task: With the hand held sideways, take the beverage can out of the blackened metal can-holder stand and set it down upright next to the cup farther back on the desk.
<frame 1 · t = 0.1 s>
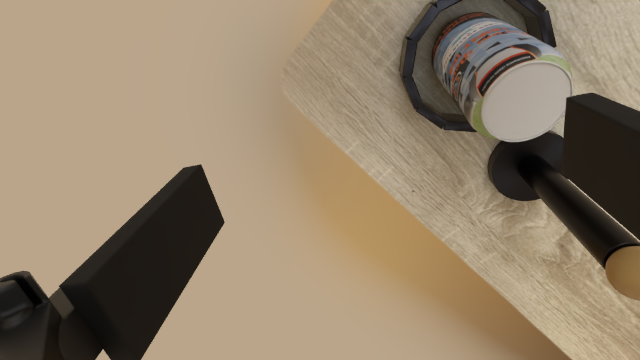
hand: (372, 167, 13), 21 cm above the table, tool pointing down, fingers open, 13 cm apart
beverage can: (467, 58, 30), resting in can holder
can holder: (468, 58, 30), on the table
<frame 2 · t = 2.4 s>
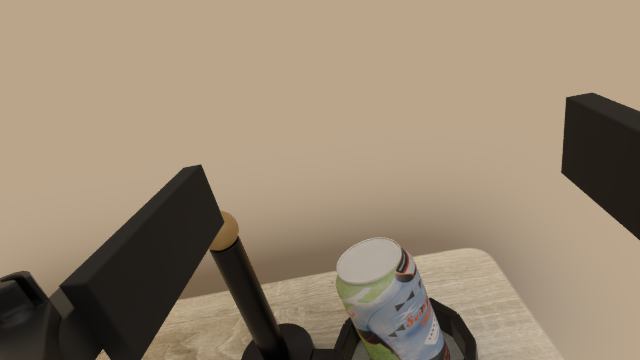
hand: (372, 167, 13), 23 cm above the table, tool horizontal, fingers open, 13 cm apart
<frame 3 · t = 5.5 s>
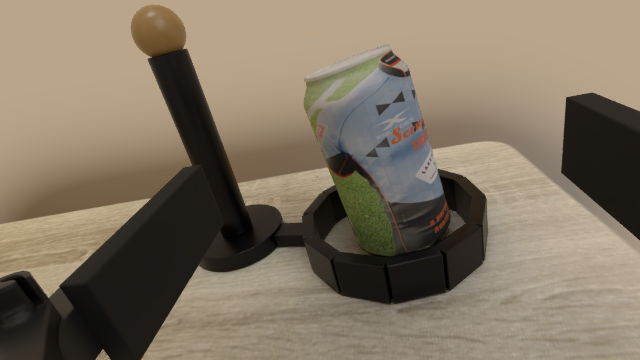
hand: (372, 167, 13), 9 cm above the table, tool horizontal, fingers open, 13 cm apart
beverage can: (393, 240, 24), resting in can holder
can holder: (393, 237, 24), on the table
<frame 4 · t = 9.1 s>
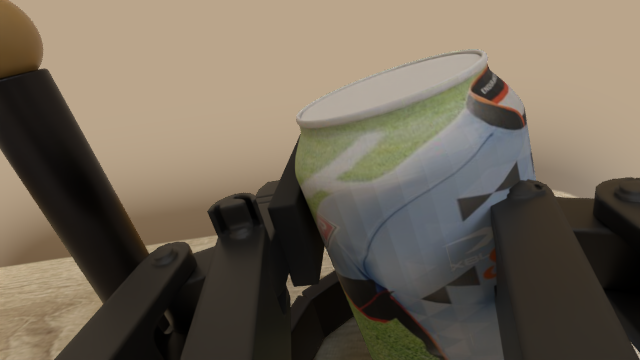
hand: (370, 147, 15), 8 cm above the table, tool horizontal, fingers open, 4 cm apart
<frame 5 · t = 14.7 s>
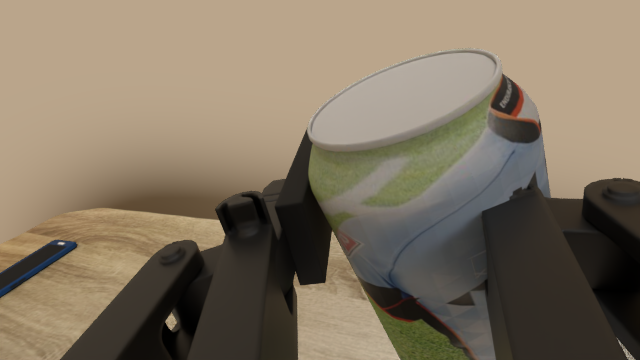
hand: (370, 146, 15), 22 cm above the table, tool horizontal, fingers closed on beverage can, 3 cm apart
cell phone: (30, 269, 61), on the table
beverage can: (460, 352, 15), point 14 cm above the table, touching gripper
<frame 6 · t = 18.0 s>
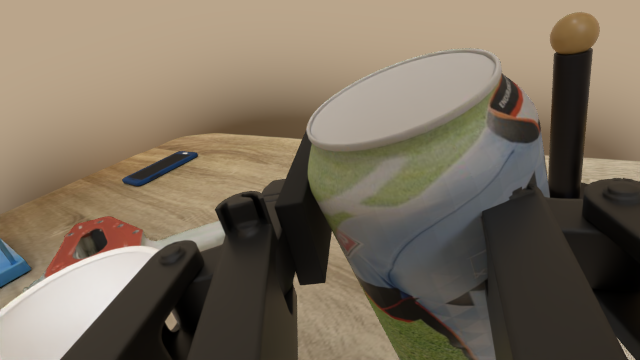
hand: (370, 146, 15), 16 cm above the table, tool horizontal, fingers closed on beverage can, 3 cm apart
cell phone: (162, 169, 73), on the table
tape dispenser: (140, 275, 40), on the table
beverage can: (459, 353, 15), point 7 cm above the table, touching gripper
when the fingers open (9 cm above the table, at t = 20.1 s): beverage can stays where it is, on the table.
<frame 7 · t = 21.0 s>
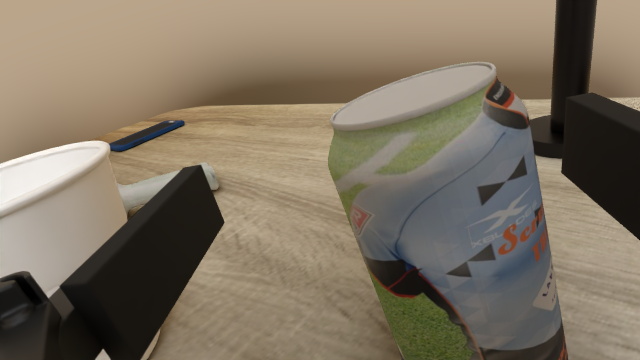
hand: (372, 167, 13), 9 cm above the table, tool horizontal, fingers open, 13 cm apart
cell phone: (147, 137, 70), on the table
tape dispenser: (110, 222, 37), on the table
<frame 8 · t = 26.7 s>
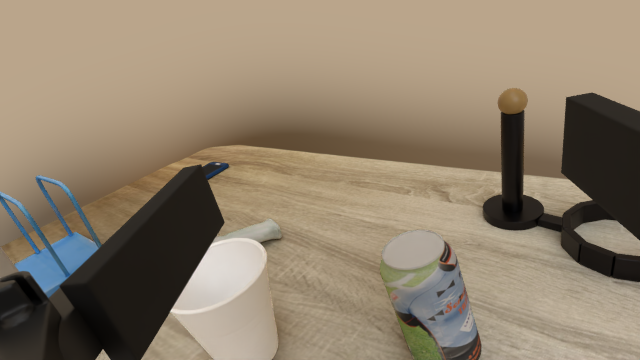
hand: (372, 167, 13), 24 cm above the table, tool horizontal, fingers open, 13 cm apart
cell phone: (200, 178, 87), on the table
tape dispenser: (207, 261, 54), on the table
beverage can: (437, 353, 32), on the table
file sorter: (20, 295, 58), on the table
can holder: (624, 245, 38), on the table
cup: (251, 353, 37), on the table
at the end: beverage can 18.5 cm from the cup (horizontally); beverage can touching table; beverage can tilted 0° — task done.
